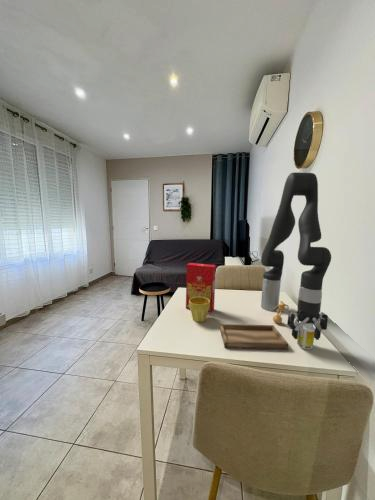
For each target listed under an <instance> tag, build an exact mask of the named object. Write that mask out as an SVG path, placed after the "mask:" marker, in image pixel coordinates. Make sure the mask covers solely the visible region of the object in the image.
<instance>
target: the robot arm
mask: <svg viewBox="0 0 375 500" xmlns="http://www.w3.org/2000/svg"><path fill="white" fill-rule="evenodd" d="M283 186H284V187H283V190H282V194H281V198H280V199H281V200H280V203H279V206H278V210H277V212H276V216H275V219H274V221H273V224H272V226H271V231H270V234H269V237H268V240H267V242H266V244H265V246H264V248H263V250H262V253H261V257H260V258H261V259H260V261H261V264H262V266H264V267H269V268H271V269H270V270H268V271H267V270H266V271H264V272H263V275H262V288H261V302H260V308H261V309H263V310H265V311H269V312H275V311H276V312H277V310H278V308H279V307H276V306H277V305H279V304H280V296H281V294H280V293H281V292H280V291H281V280H282V275H283V268H284V264H285V263H284V262H285V254H284V252H283V251H282V250H278V249H277V250H276V248H277V247H279V246H280V245H281V244H282V243H284V242H285V241H286V240H287V239H289V237H290V236H291V234H292V233H293V231H294V228H295V225H296V217H295V214H294V212H293V208H292V202H293V199H294V196H300V197H305V205H304V208H303V209H302V212H301V213H300V215H299V218H298V223H297V224H298V225H297V226H298V233H299V246H298V251H297V260H298V262H299V263H300V264H301V265H303V266H311V267H312V268H311V269H309V270H305V271H302V273H301V276H300V285H299V290H298V297H297V300H298V301H297V311H296V312H292V311H289V312H288V315H287V316H288V317H287V322H286V323H287V324H286V325H287V327H289V328H290V330H291V336H292V338H293V339H294V340H297V338H298V329H299V328H300V327H302V326H303V325H304V324H305V323H313V327H314V328H315V332H314V340H316V341H320V339H321V334H322V331H323V330H324V331H326V330H327V329H328V319H329V315H328V314H326V313H325V312H321V307H322V298H323V293H322V291H323V283H324V282H323V281H324V277H325V275H326V273H327V271H328V268H329V266H330V264H331V261H332V253H331V250H329V248H327V247H325V246H311V245H312V243H316V242H319V241H320V240H321V239H322V232H321V225H320V221H319V213H318V211H319V207H318V206H319V181H318V177H317V175H316V174H315V173H313V172H291V173H289V175H288V176H287V177H286V179H285V182H284V185H283ZM275 307H276V308H275ZM273 308H275V309H273ZM272 309H273V310H272ZM318 320H320V321H319V322H318Z"/></svg>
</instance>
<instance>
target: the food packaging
mask: <svg viewBox="0 0 375 500" xmlns="http://www.w3.org/2000/svg"><path fill="white" fill-rule="evenodd" d="M216 266H217V265H216V264H206V263H195V262H194V263H193V262H189V263H186V278H185V281H186V284H185V285H186V287H185V289H186V290H185V309H186V310H191V309H190V308H189V299H191V298H193V297H205V298H207V299H209V300H210V308H209V309H208V313H209V314H212V313H213V312H214V310H215V294H216V291H215V290H216V274H217V273H216V269H217V267H216ZM208 313H207V314H208Z"/></svg>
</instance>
